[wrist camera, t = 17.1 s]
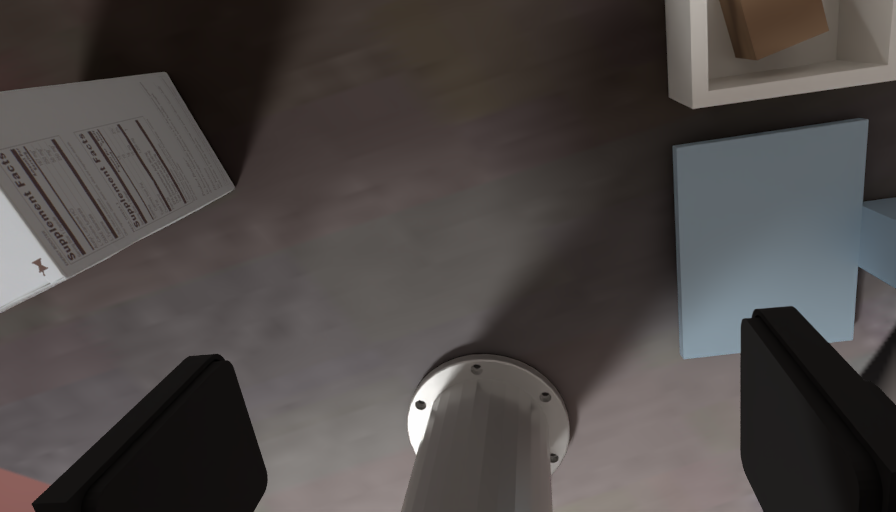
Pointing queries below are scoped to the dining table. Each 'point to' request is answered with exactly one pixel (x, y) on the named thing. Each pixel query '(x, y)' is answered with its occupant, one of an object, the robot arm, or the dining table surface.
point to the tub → (777, 54)
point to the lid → (776, 231)
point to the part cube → (771, 25)
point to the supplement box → (94, 175)
